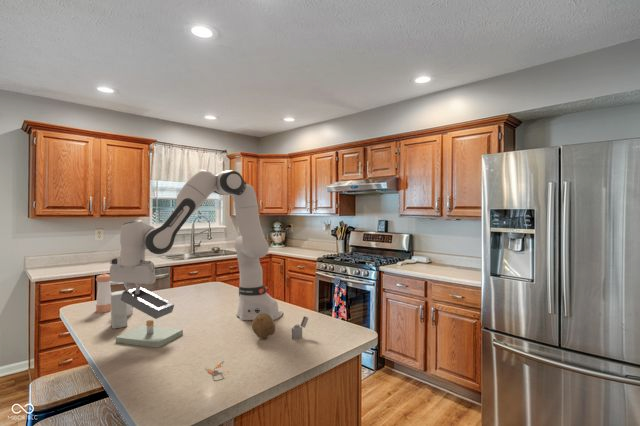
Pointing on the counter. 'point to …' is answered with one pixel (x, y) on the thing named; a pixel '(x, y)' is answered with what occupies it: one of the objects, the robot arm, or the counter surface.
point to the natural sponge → (263, 326)
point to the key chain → (216, 372)
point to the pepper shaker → (103, 293)
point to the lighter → (299, 329)
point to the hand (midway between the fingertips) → (132, 293)
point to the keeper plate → (149, 335)
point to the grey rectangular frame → (148, 303)
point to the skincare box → (118, 310)
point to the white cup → (129, 309)
